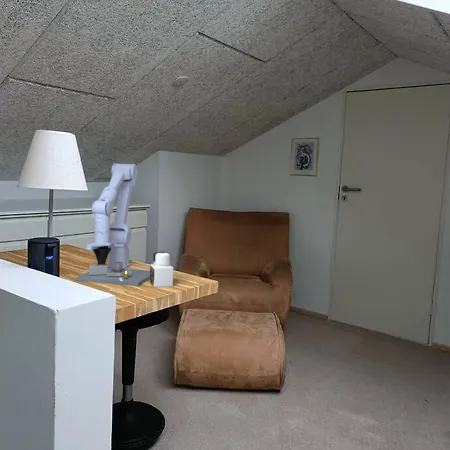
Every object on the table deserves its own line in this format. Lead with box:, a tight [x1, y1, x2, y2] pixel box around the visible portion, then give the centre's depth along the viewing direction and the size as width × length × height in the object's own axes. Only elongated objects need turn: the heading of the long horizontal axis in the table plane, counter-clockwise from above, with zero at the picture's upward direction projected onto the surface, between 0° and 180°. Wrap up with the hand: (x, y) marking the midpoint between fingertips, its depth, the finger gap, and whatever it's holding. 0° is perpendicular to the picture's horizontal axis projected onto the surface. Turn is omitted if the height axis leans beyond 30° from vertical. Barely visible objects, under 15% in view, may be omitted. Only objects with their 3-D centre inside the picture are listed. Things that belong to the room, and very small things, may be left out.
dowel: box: [124, 270, 129, 279], centre depth 166 cm, size 2×2×3 cm
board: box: [75, 262, 150, 287], centre depth 172 cm, size 20×24×6 cm
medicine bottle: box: [149, 251, 174, 288], centre depth 164 cm, size 7×7×12 cm
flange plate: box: [88, 263, 132, 277], centre depth 171 cm, size 15×9×4 cm, turn 109°
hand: (101, 265), depth 176 cm, fingers closed
